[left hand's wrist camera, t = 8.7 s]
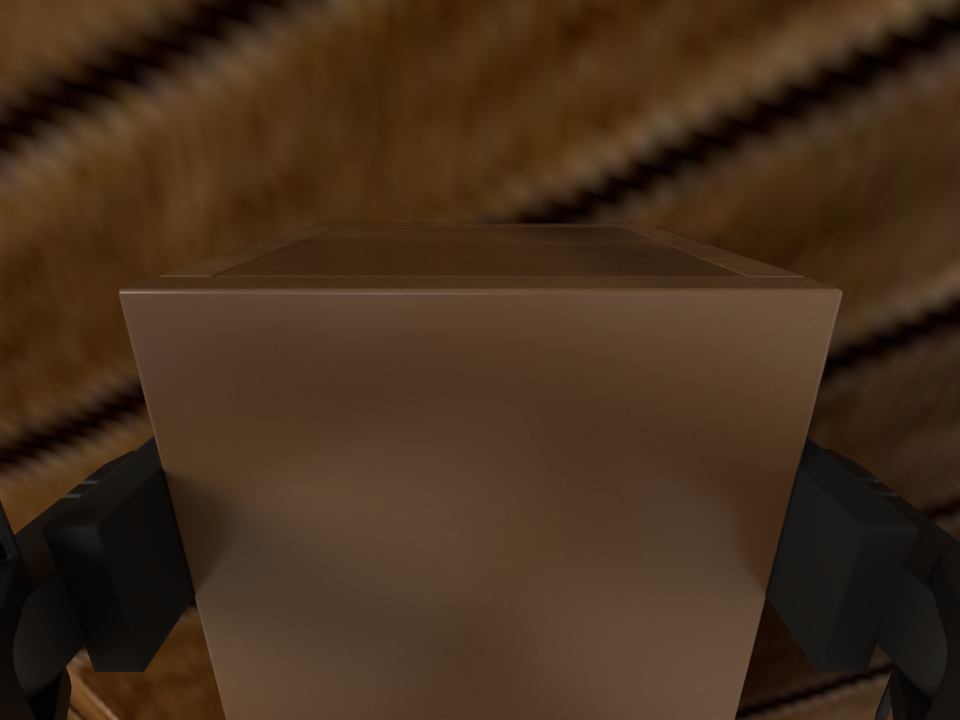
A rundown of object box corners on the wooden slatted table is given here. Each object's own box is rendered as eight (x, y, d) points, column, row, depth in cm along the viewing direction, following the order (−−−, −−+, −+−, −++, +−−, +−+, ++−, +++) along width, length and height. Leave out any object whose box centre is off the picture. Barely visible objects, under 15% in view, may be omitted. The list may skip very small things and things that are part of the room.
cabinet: (591, 702, 24) (658, 1023, 15) (368, 701, 24) (300, 1022, 15) (644, 223, 16) (847, 288, 7) (316, 223, 16) (114, 287, 7)
